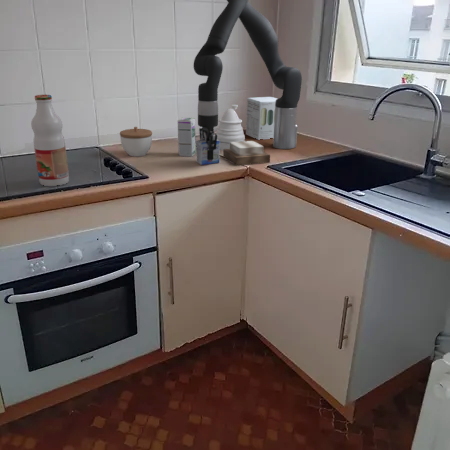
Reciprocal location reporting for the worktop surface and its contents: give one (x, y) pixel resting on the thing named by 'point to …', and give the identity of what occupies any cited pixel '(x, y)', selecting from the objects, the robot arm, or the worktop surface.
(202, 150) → the medicine box
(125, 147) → the lidded bowl
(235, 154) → the plinth
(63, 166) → the fruit juice
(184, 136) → the syrup box
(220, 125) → the honey pot
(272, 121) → the supplement box
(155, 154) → the worktop surface
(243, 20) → the robot arm
